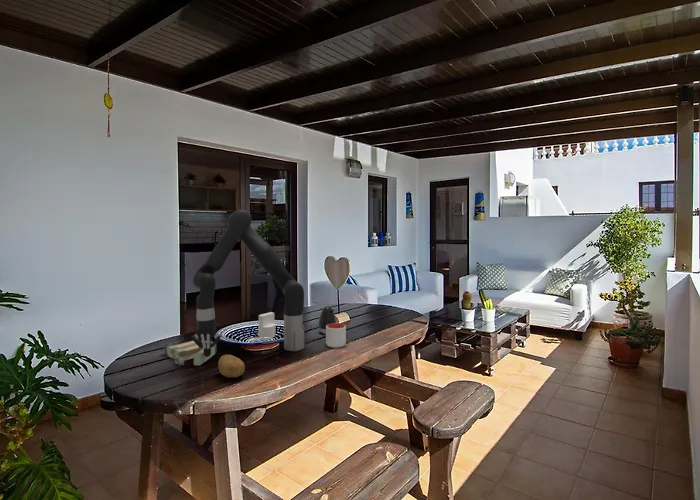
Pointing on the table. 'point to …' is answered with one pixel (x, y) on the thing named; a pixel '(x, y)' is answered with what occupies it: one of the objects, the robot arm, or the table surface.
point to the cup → (335, 335)
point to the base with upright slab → (266, 325)
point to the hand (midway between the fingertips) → (207, 356)
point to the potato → (231, 366)
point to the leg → (200, 357)
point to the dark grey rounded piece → (326, 318)
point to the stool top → (182, 351)
